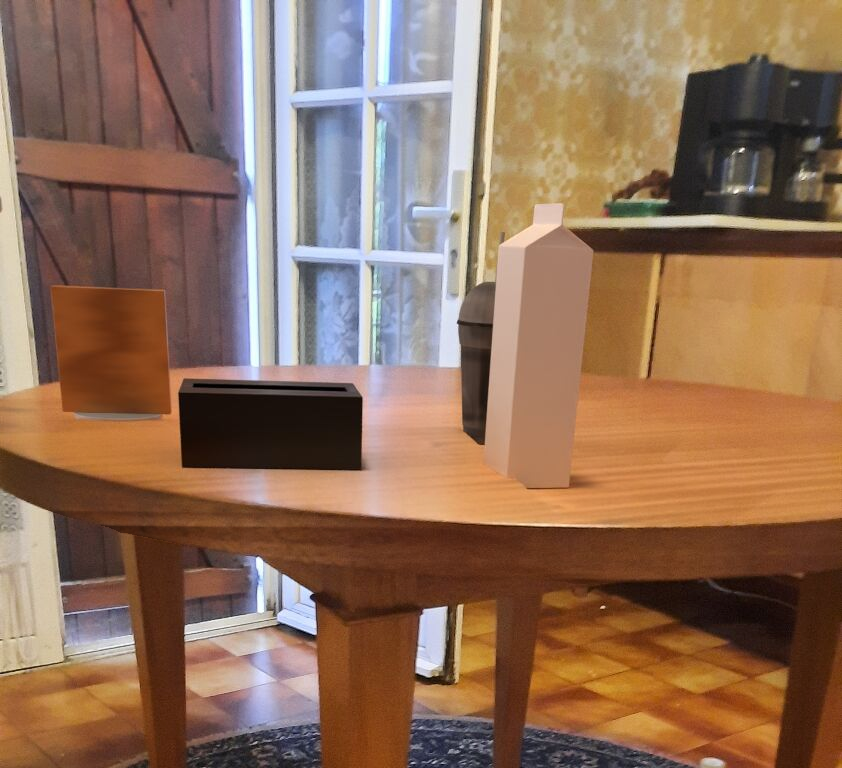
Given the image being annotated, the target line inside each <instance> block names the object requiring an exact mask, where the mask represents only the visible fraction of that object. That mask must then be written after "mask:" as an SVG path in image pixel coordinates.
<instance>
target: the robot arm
mask: <svg viewBox="0 0 842 768" xmlns="http://www.w3.org/2000/svg"><path fill="white" fill-rule="evenodd" d="M2 212H3V201H2V197H1V196H0V214H1V213H2Z"/></svg>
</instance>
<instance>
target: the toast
mask: <svg viewBox="0 0 842 768" xmlns="http://www.w3.org/2000/svg"><path fill="white" fill-rule="evenodd" d="M50 295H51V296H50V297H51V307H52V319H53V326H54V338H55V348H56V358H57V369H58V380H59V389H60V400H61V411H62V412H63V413H74V412H91V413H133V414H163V415H172V412H173V409H172V408H173V407H172V390H171V389H172V388H171V373H170V372H171V370H170V369H171V368H170V351H169V334H168V331H169V330H168V316H167V315H168V313H167V298H166V297H167V296H166V289H157V288H156V289H155V288H153V289H152V288H132V287H131V288H127V287H107V286H106V287H105V286H104V287H103V286H81V285H56V284H55V285H54V284H53V285H50Z"/></svg>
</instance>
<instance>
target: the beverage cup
mask: <svg viewBox="0 0 842 768" xmlns="http://www.w3.org/2000/svg"><path fill="white" fill-rule="evenodd" d="M505 236H506V232H504V231H500V232H499V237H498V238H499V240H498V246H499V245H500V244H502V243H504V242H505ZM497 262H498V257H497V259H496V263H497ZM495 268H496V269H495V276H494V281H483V282H481V283H479V284H477V285H475V286H474V287H473V288H472V289H470V290H469V291H468V293H467V295H465V297H464V299H463V300H462V303H461V306H460V309H459V312H458V318H457V321H456V325H458V327H457V335H458V342H459V345H460V371H461V372H460V374H461V375H460V378H461V380H460V381H461V423H462V424H461V425H462V431H463V432H464V433H465V434H466V435H467V436H468V437H469V438H471V439H472V440H473V441H474V442H475V443H476V444H477V445H484V446H485V434H486V419H487V405H488V391H489V377H490V362H491V348H492V334H493V319H494V305H495V291H496V277H497V266H496V267H495Z"/></svg>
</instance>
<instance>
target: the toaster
mask: <svg viewBox="0 0 842 768" xmlns="http://www.w3.org/2000/svg"><path fill="white" fill-rule="evenodd" d="M177 396H178V399H177V400H178V417H179V420H178V421H179V439H180V457H181V469H222V470H223V469H224V470H225V469H227V470H228V469H230V470H231V469H232V470H283V471H284V470H287V471H288V470H291V471H347V472H348V471H349V472H350V471H352V472H354V471H355V472H356V471H357V472H362V454H363V411H364V410H363V407H364V397H363V395H362V394H361V393H360V392H359V390H358V389H357V387H356V385H355V384H354V383H353V382H331V381H329V382H326V381H293V380H292V381H291V380H262V379H261V380H256V379H255V380H254V379H223V378H221V379H219V378H188V377H187V378H185V377H184V378H183V379H182V382H181V385H180V386H179V390H178V392H177Z"/></svg>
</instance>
